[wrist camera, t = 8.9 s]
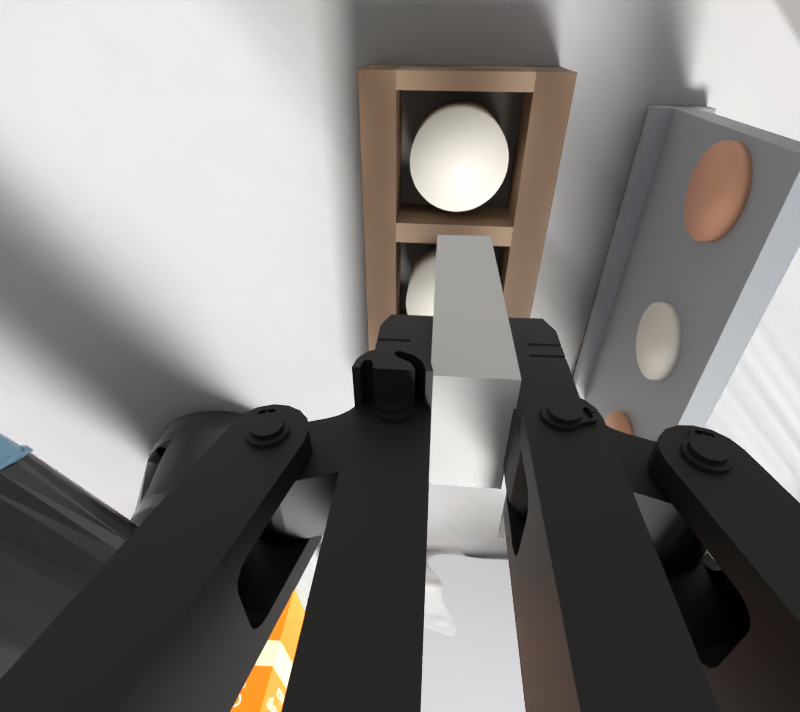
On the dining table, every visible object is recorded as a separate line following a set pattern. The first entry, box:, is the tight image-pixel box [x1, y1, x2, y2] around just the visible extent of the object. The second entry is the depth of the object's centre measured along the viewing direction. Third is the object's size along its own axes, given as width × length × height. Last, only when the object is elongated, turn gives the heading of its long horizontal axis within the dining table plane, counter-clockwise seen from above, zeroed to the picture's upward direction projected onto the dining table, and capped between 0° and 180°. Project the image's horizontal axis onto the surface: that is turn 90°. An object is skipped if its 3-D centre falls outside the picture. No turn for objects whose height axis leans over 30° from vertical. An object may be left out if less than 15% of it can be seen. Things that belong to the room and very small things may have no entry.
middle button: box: [406, 246, 437, 316], centre depth 28 cm, size 5×5×3 cm
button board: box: [358, 64, 577, 351], centre depth 30 cm, size 10×23×4 cm, turn 0°
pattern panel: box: [573, 105, 800, 441], centre depth 26 cm, size 3×20×12 cm, turn 0°
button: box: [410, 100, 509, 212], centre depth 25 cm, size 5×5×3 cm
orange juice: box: [230, 590, 305, 712], centre depth 52 cm, size 8×9×20 cm
